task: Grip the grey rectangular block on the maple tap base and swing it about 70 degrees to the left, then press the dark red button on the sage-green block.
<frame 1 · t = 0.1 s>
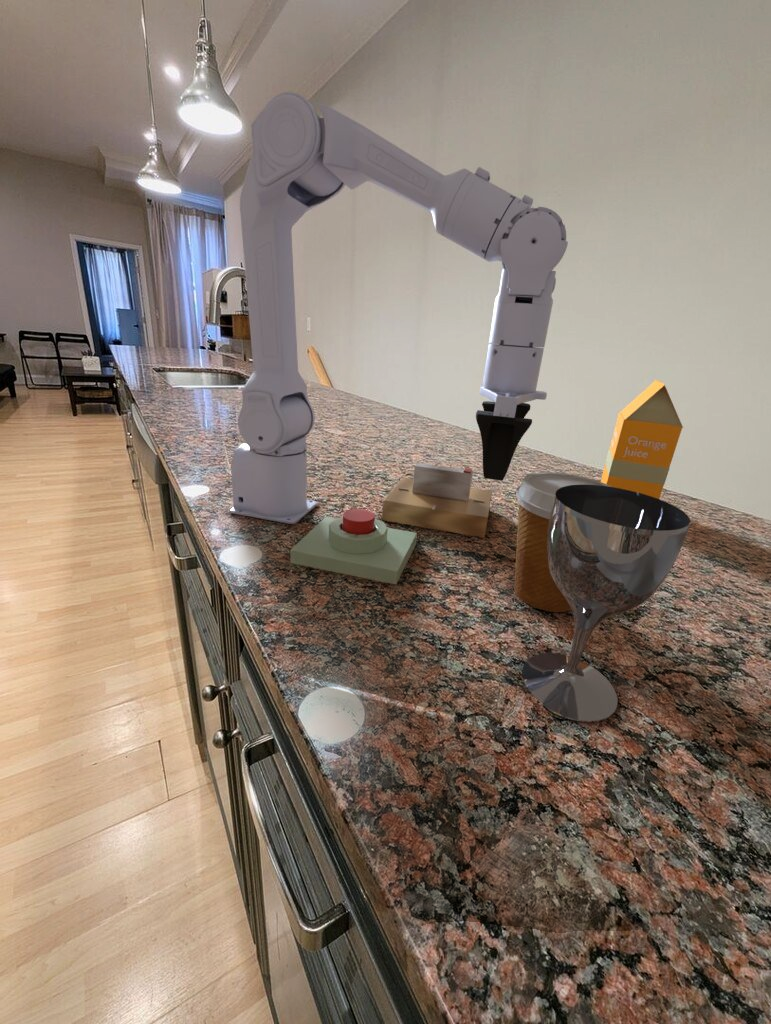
hand: (495, 469, 52), 10 cm above the table, tool pointing down, fingers open, 7 cm apart
button block: (356, 553, 52), on the table
disposable coffee cup: (544, 596, 46), on the table
tap base: (438, 514, 65), on the table
button: (358, 522, 50), point 4 cm above the table, slide at 0.2 cm
orange juice: (622, 508, 73), on the table
wine glass: (566, 686, 35), on the table
grey rectangular block: (442, 480, 63), point 5 cm above the table, hinge at 0.0°
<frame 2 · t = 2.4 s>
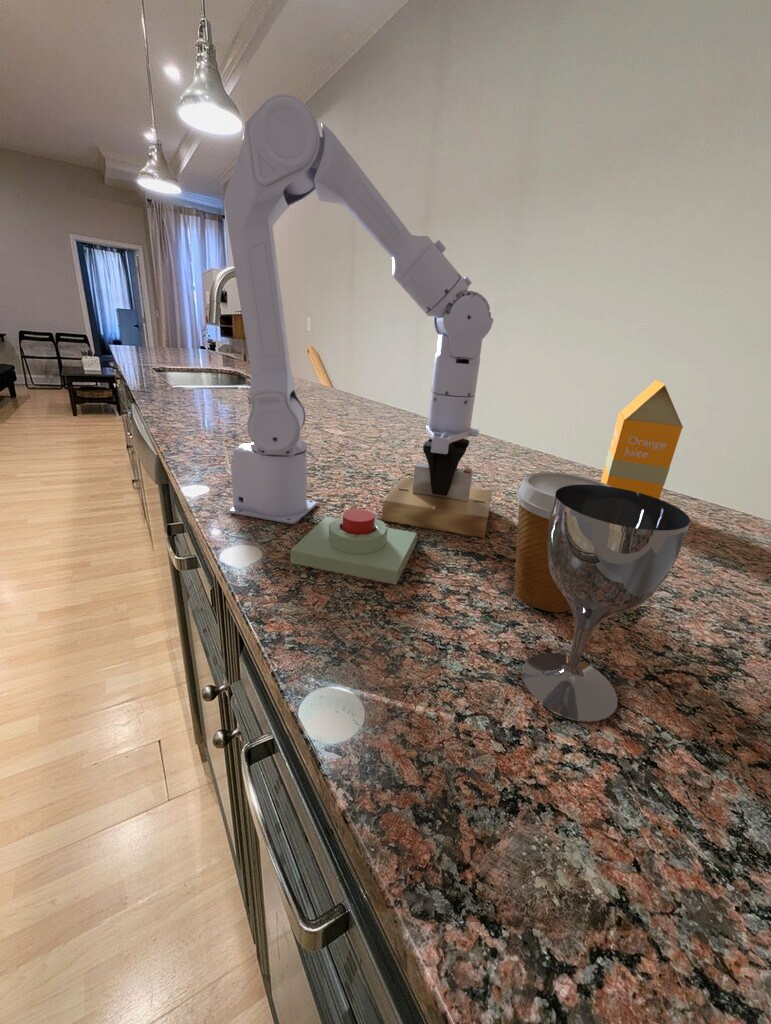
hand: (441, 491, 63), 4 cm above the table, tool pointing down, fingers closed on grey rectangular block, 2 cm apart
grey rectangular block: (442, 480, 63), point 5 cm above the table, hinge at -0.1°, touching gripper
everything else where it was.
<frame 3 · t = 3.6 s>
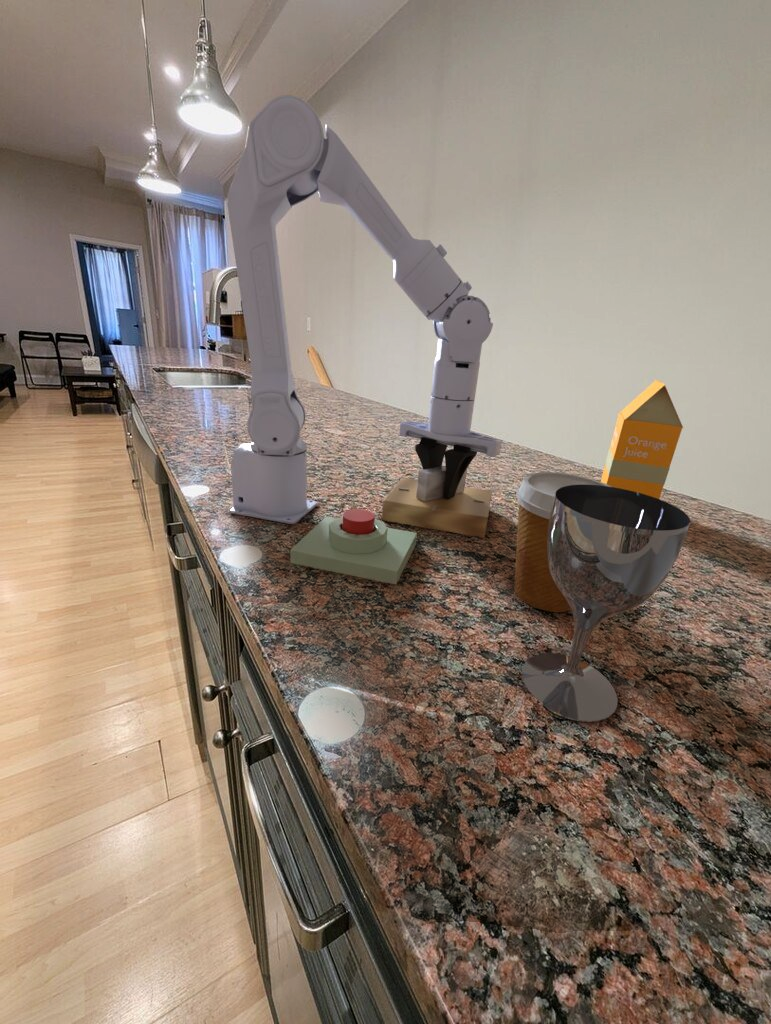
hand: (440, 494, 64), 3 cm above the table, tool pointing down, fingers closed on grey rectangular block, 2 cm apart
grey rectangular block: (442, 480, 63), point 5 cm above the table, hinge at 54.3°, touching gripper
everything else where it was.
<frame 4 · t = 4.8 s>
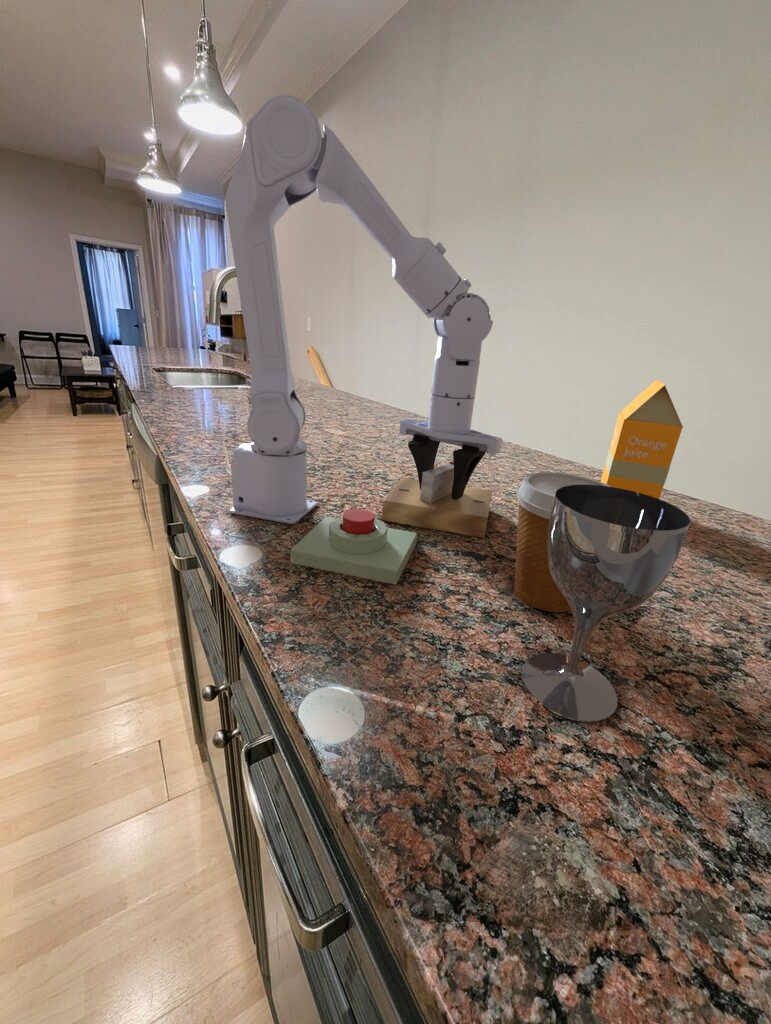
hand: (440, 492, 63), 3 cm above the table, tool pointing down, fingers open, 5 cm apart
grey rectangular block: (442, 480, 63), point 5 cm above the table, hinge at 67.2°
everything else where it was.
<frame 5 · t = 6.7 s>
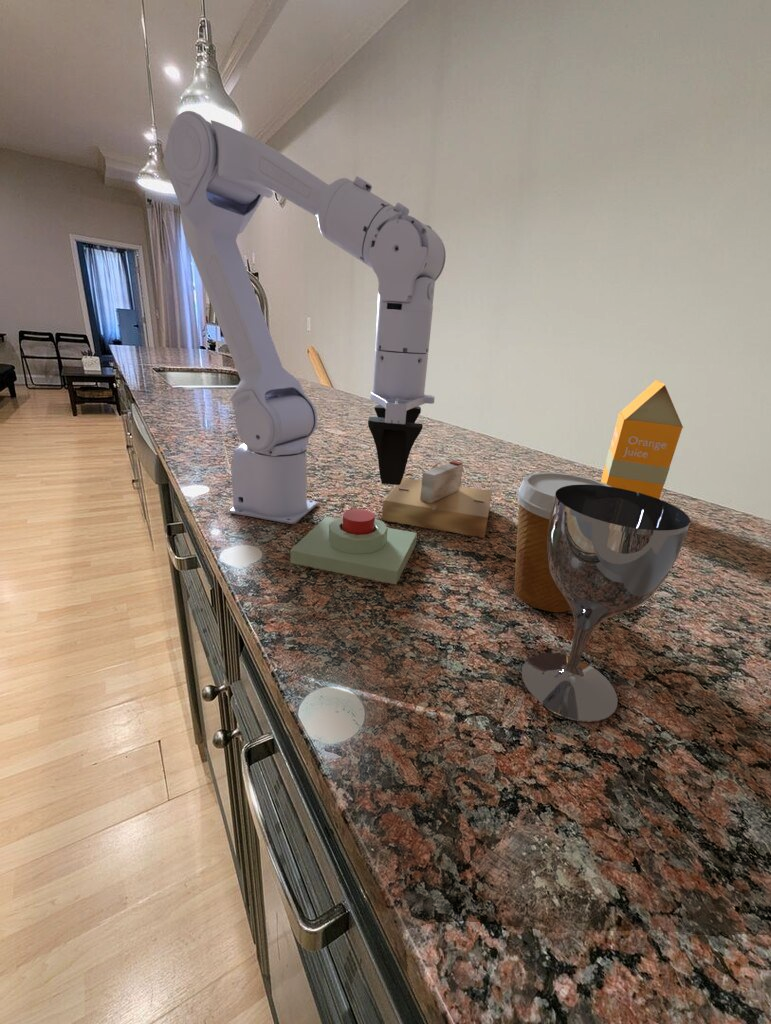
hand: (392, 473, 53), 9 cm above the table, tool pointing down, fingers open, 7 cm apart
nothing on the table moved.
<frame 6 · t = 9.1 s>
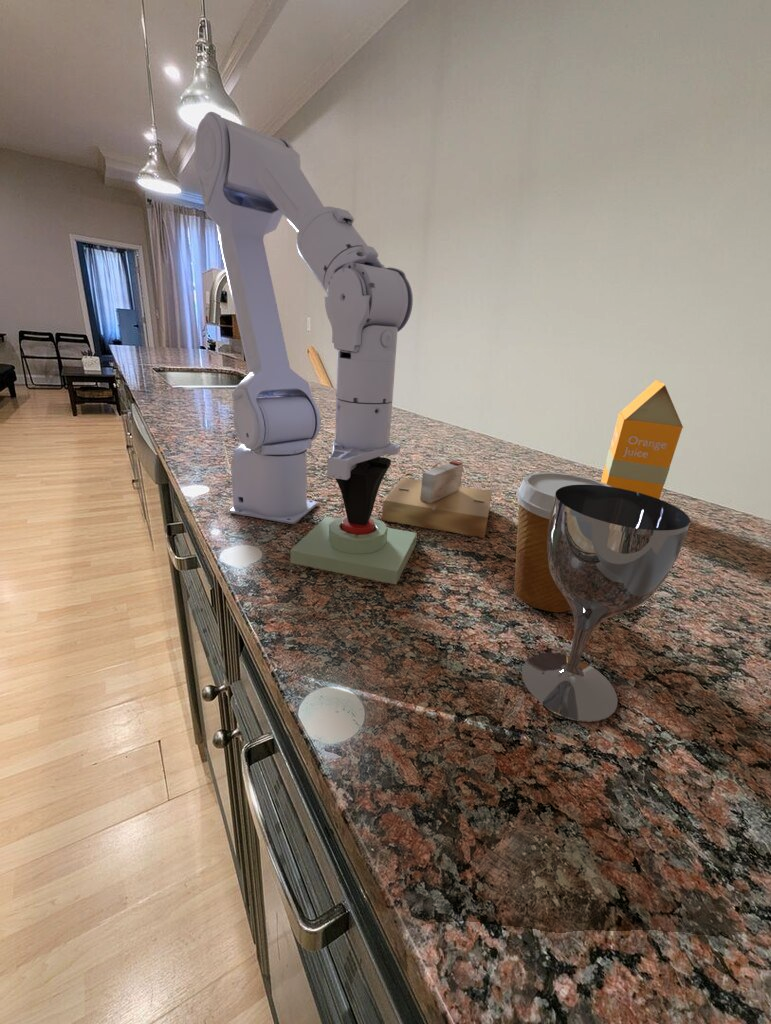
hand: (358, 522, 50), 4 cm above the table, tool pointing down, fingers closed, pressing on button
button: (358, 528, 51), point 3 cm above the table, slide at -0.6 cm, touching gripper
everything else where it was.
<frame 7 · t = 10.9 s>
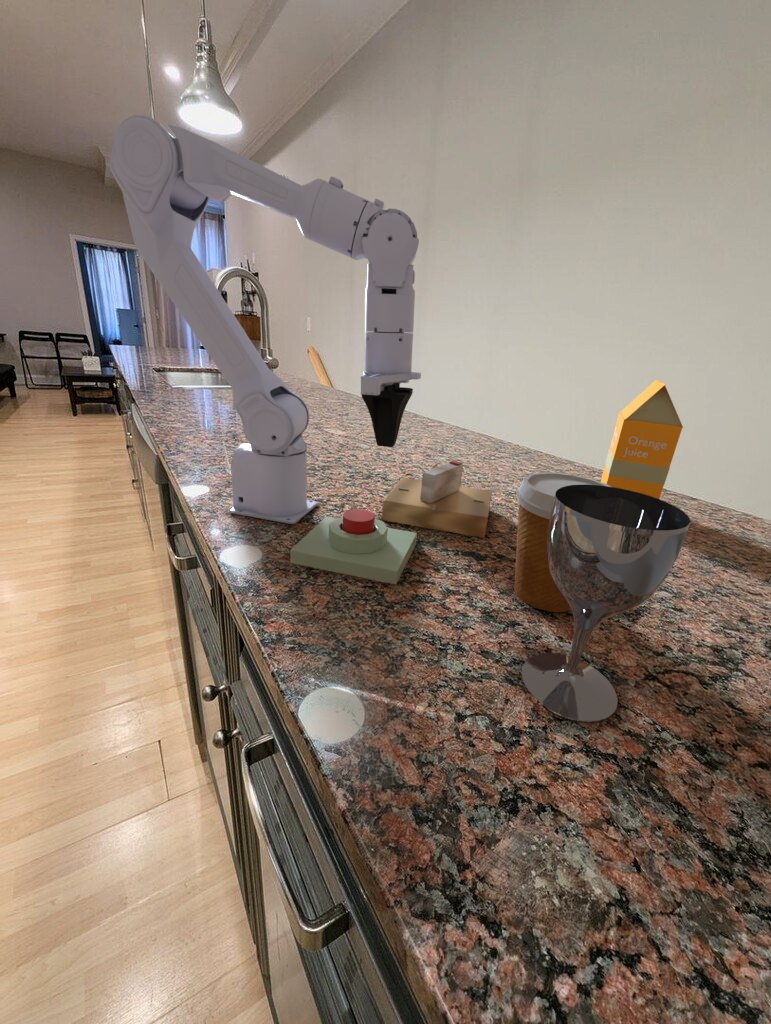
hand: (386, 445, 58), 10 cm above the table, tool pointing down, fingers closed
button: (358, 522, 50), point 4 cm above the table, slide at 0.2 cm
everything else where it was.
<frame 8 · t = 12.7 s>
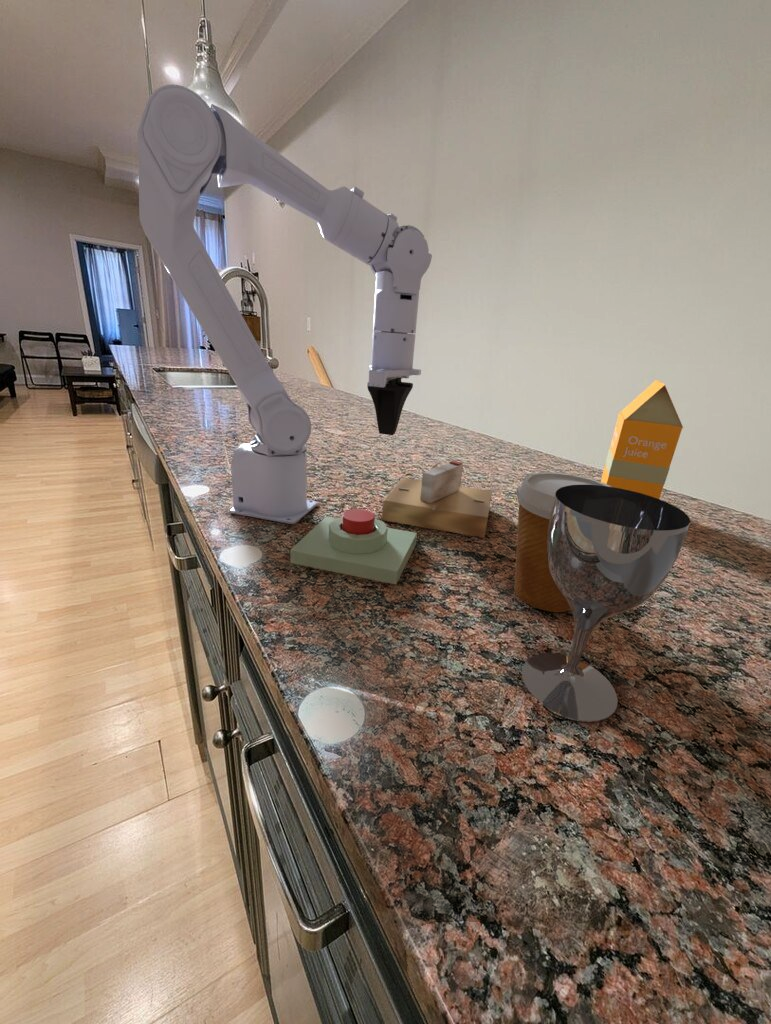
hand: (387, 433, 65), 10 cm above the table, tool pointing down, fingers closed
nothing on the table moved.
at the end: grey rectangular block at +67° (first picture: +0°); button pushed in 1.2 cm at the most during the clip, back to 0.2 cm at the end; button slide at 0.2 cm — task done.
